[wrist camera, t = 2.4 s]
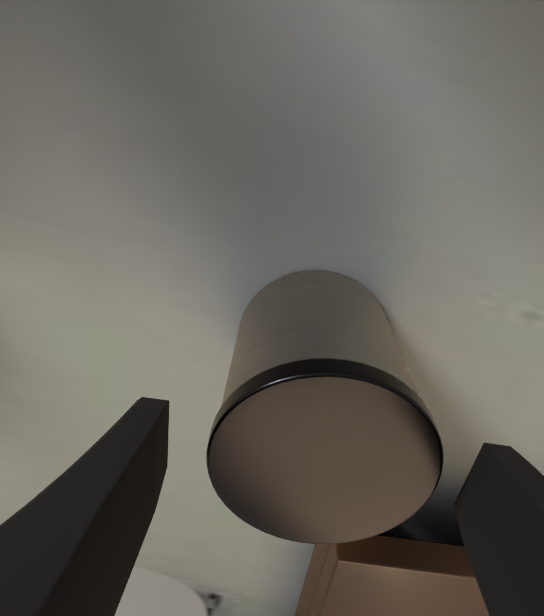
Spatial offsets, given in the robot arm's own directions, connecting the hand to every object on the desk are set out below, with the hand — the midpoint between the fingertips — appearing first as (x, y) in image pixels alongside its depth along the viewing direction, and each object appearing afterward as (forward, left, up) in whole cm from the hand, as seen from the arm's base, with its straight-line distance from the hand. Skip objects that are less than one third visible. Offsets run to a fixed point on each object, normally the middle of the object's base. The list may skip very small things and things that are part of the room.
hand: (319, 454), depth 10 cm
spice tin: (0, 0, -5) cm, 5 cm away
